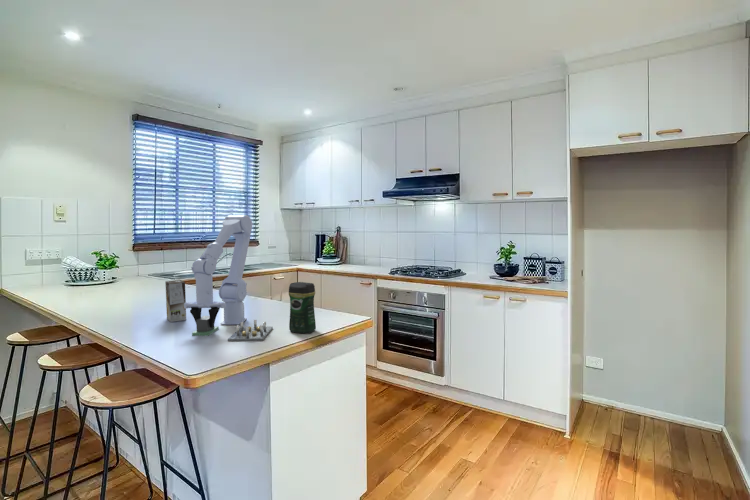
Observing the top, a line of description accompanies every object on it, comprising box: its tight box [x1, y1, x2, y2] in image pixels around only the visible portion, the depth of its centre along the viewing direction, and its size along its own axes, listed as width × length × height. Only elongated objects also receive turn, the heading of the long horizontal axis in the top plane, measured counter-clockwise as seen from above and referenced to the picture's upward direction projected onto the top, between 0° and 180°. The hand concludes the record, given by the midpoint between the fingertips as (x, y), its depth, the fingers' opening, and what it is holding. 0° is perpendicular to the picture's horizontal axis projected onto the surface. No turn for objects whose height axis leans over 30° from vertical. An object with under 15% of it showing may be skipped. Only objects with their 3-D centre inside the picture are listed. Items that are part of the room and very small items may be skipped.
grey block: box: [191, 315, 220, 337], centre depth 151 cm, size 9×6×6 cm, turn 179°
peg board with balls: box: [227, 319, 274, 342], centre depth 148 cm, size 16×12×4 cm
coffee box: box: [165, 279, 187, 323], centre depth 171 cm, size 9×6×16 cm
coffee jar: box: [288, 281, 317, 334], centre depth 152 cm, size 10×8×19 cm
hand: (205, 327), depth 151 cm, fingers closed on grey block, 4 cm apart
